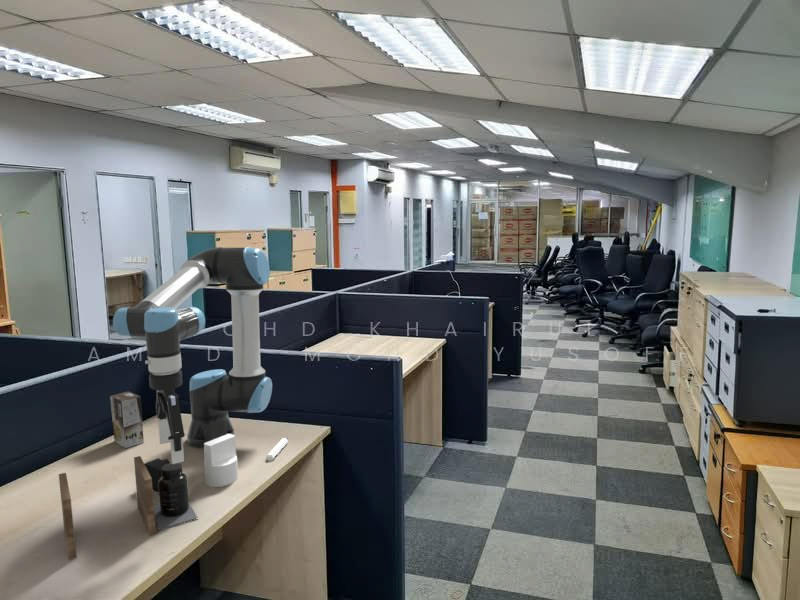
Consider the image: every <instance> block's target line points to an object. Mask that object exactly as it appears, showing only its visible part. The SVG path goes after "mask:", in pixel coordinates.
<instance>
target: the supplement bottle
mask: <svg viewBox="0 0 800 600" xmlns="http://www.w3.org/2000/svg"><path fill="white" fill-rule="evenodd" d="M161 471H162V473H161V475H162V477H161V478H160V479H159V482H158V488H159V493H158V497H159V503H160V510H161V514H162V515H164V516H167V517H174V516H178V515H181V514H183V513H185V512H186V511H187V510H188V508H189V504H190V501H189V487H188V477H187V475H186V474H185V473H183V467H182V464H181V462H180V463H176V464H172V462H170V464H166V465H164V466H163V467H162V468H161Z"/></svg>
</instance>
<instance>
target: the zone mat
mask: <svg viewBox="0 0 800 600" xmlns="http://www.w3.org/2000/svg"><path fill="white" fill-rule="evenodd" d="M154 515H155V525H156V526H157V528H158V530H159V531H163V530H166V529H169V528H172V527H176V526H179V524H180V525H182V523H183V524H185V523H184V522H186V523H189V522H188V521H190V522H192V521H191V520H193V521H195V520H194V519H196V518H198V519H199V517H198V515H197V514H196V512H195V511H194V509H193V507H192V505H191V504H190V503H189V508H188V510H187V511H186V512H185V513H183V514H181V515H178V516H174V517H167V516H164V515H162V514H161V510H160V502H158V503H155V504H154ZM196 520H197V519H196Z"/></svg>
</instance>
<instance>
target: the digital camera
mask: <svg viewBox="0 0 800 600" xmlns="http://www.w3.org/2000/svg"><path fill="white" fill-rule="evenodd" d="M170 463H171V461H170V460H169V459H167V458H165V459H161V458H155V459H152V460H149V461H147V462H144V464H145V466H146V468H147V470H148V472H149V474H150V476H151V478H152V488H153V491H154V492H156V493H158V494H159V488H158V482H159V479H160V478H161V477H162V475H161V473H162V471H161V468H162V467H163V466H164V465H166V464H170Z"/></svg>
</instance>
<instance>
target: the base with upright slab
mask: <svg viewBox="0 0 800 600" xmlns="http://www.w3.org/2000/svg"><path fill="white" fill-rule="evenodd" d="M236 445H237V444H236V435H235V434H234V435H233V434H226V435H224V436H221V437H219V438H216V439H214V440H211V441H208V442H206V443H204V448H203V450H204V451H203V453H204V477H205V478H204V480H205V484H206V485H208V487H209V486H211V487H217V488H219V487H225V486H226V487H227V486H228V485H232V484H233V483H236V482H237V481H238V479H239V470H238V469H239V467H238V466H239V465H238V456H237V446H236Z"/></svg>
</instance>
